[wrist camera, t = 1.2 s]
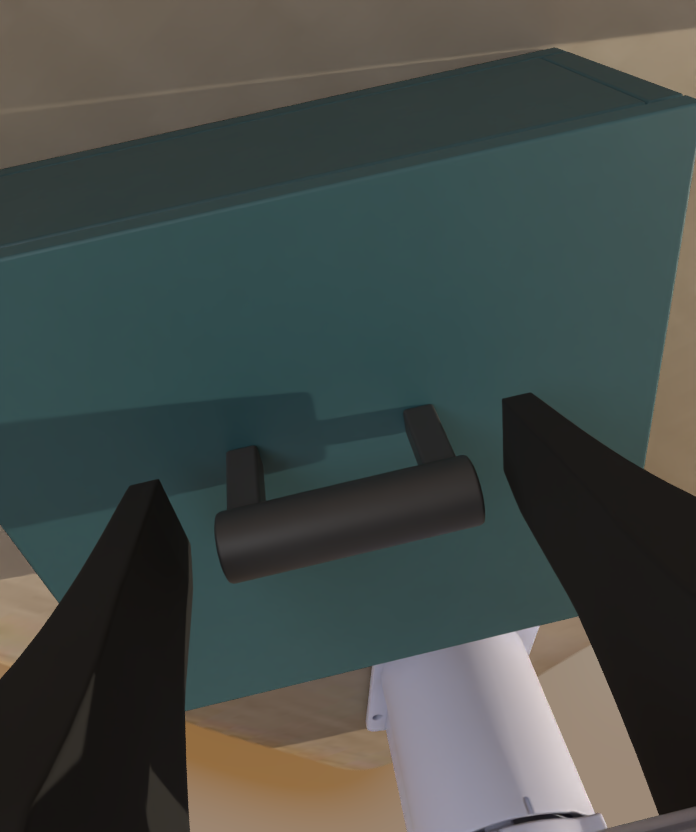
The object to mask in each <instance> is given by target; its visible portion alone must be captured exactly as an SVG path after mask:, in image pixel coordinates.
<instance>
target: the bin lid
mask: <svg viewBox="0 0 696 832" xmlns="http://www.w3.org/2000/svg"><path fill="white" fill-rule="evenodd" d="M695 157H696V99H695V98H692V97H689V96H686V95H685V96H680V97H676V98H671V99H667V100H662V101H658V102H653V103H649V104H644V105H640V106H635V107H631V108H627V109H622V110H618V111H613V112H609V113H604V114H600V115H595V116H591V117H586V118H582V119H577V120H573V121H568V122H564V123H559V124H555V125H550V126H546V127H541V128H537V129H532V130H528V131H523V132H519V133H514V134H510V135H506V136H501V137H497V138H492V139H488V140H483V141H479V142H474V143H470V144H465V145H461V146H456V147H452V148H447V149H443V150H438V151H434V152H429V153H425V154H420V155H416V156H411V157H407V158H402V159H398V160H393V161H389V162H384V163H380V164H376V165H371V166H367V167H362V168H358V169H353V170H349V171H344V172H340V173H335V174H331V175H326V176H322V177H317V178H313V179H308V180H304V181H299V182H295V183H290V184H286V185H281V186H277V187H272V188H268V189H263V190H259V191H255V192H250V193H246V194H241V195H237V196H232V197H228V198H223V199H219V200H214V201H210V202H205V203H201V204H196V205H192V206H187V207H183V208H178V209H174V210H169V211H165V212H160V213H156V214H151V215H147V216H142V217H138V218H134V219H129V220H125V221H120V222H116V223H111V224H107V225H102V226H98V227H93V228H89V229H84V230H80V231H75V232H71V233H66V234H62V235H57V236H53V237H48V238H44V239H39V240H35V241H30V242H26V243H21V244H17V245H12V246H8V247H4V248H0V525H1V526H2V528H3V529H4V530H5V532H6V533H7V534H8V536H9V537H10V538H11V540H12V541H13V542H14V544H15V545H16V546H17V548H18V549H19V550H20V552H21V553H22V554H23V556H24V557H25V558H26V560H27V561H28V562H29V564H30V565H31V567H32V568H33V569H34V571H35V572H36V573H37V575H38V576H39V577H40V579H41V580H42V581H43V583H44V584H45V585H46V587H47V588H48V589H49V591H50V592H51V593H52V595H53V596H54V597H55V599H56V600H57V601H58V603H60V601H61V600H62V598H63V597H64V595H65V594H66V592H67V591H68V589H69V588H70V586H71V585H72V583H73V582H74V580H75V578H76V577H77V575H78V574H79V572H80V570H81V569H82V567H83V565H84V564H85V562H86V560H87V559H88V557H89V555H90V554H91V552H92V550H93V549H94V547H95V545H96V544H97V542H98V540H99V538H100V537H101V535H102V533H103V531H104V530H105V528H106V526H107V524H108V522H109V521H110V519H111V517H112V515H113V513H114V512H115V510H116V508H117V506H118V504H119V503H120V501H121V499H122V497H123V496H124V494H125V492H126V490H127V489H128V487H129V486H130V485H134V484H138V483H143V482H147V481H151V480H156V479H159V480H160V482H161V484H162V486H163V488H164V490H165V492H166V494H167V497H168V499H169V501H170V503H171V505H172V507H173V509H174V511H175V513H176V515H177V517H178V519H179V521H180V523H181V525H182V527H183V529H184V531H185V533H186V536H187V538H188V540H189V542H190V544H191V557H192V573H193V600H192V614H191V628H190V641H189V653H188V666H187V679H186V694H185V711H188V710H192V709H196V708H200V707H205V706H209V705H213V704H217V703H221V702H225V701H229V700H234V699H238V698H242V697H246V696H250V695H254V694H258V693H263V692H267V691H271V690H275V689H279V688H283V687H287V686H291V685H296V684H300V683H304V682H308V681H312V680H316V679H320V678H325V677H329V676H333V675H337V674H341V673H345V672H349V671H354V670H358V669H362V668H366V667H370V666H374V665H378V664H383V663H387V662H391V661H395V660H399V659H403V658H407V657H412V656H416V655H420V654H424V653H428V652H432V651H436V650H440V649H445V648H449V647H453V646H457V645H461V644H465V643H469V642H474V641H478V640H482V639H486V638H490V637H494V636H498V635H503V634H507V633H511V632H515V631H519V630H523V629H527V628H532V627H536V626H540V625H544V624H548V623H552V622H556V621H561V620H565V619H569V618H573V617H577V616H578V614H577V612H576V610H575V608H574V606H573V604H572V602H571V600H570V599H569V597H568V595H567V593H566V591H565V590H564V588H563V586H562V584H561V583H560V581H559V579H558V577H557V576H556V574H555V572H554V570H553V569H552V567H551V565H550V563H549V562H548V560H547V558H546V556H545V555H544V553H543V551H542V549H541V548H540V546H539V544H538V542H537V541H536V539H535V537H534V535H533V534H532V532H531V530H530V528H529V526H528V525H527V523H526V521H525V519H524V518H523V516H522V514H521V512H520V510H519V508H518V505H517V503H516V500H515V498H514V496H513V493H512V491H511V488H510V486H509V483H508V481H507V478H506V476H505V473H504V471H503V428H502V399H503V398H507V397H512V396H516V395H520V394H525V393H529V392H531V393H533V394H534V395H536V396H537V397H538V398H540V399H541V400H542V401H544V402H545V403H547V404H548V405H549V406H551V407H552V408H553V409H555V410H556V411H557V412H559V413H560V414H561V415H563V416H564V417H566V418H567V419H568V420H570V421H571V422H572V423H574V424H575V425H577V426H578V427H579V428H581V429H582V430H584V431H585V432H586V433H588V434H589V435H591V436H592V437H594V438H595V439H597V440H598V441H600V442H601V443H603V444H604V445H606V446H607V447H609V448H610V449H612V450H613V451H615V452H616V453H618V454H619V455H621V456H623V457H624V458H626V459H627V460H629V461H631V462H632V463H634V464H636V465H637V466H639V467H641V468H642V469H644V465H645V459H646V453H647V447H648V441H649V435H650V429H651V423H652V417H653V411H654V405H655V399H656V393H657V387H658V380H659V374H660V368H661V362H662V356H663V350H664V344H665V338H666V332H667V326H668V320H669V314H670V308H671V302H672V296H673V290H674V284H675V278H676V272H677V266H678V260H679V254H680V248H681V242H682V235H683V229H684V223H685V217H686V211H687V205H688V199H689V193H690V187H691V181H692V175H693V169H694V163H695Z"/></svg>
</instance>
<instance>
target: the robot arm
mask: <svg viewBox="0 0 696 832" xmlns="http://www.w3.org/2000/svg"><path fill="white" fill-rule="evenodd" d="M502 428H503V471H504V473H505V476H506V478H507V481H508V483H509V486H510V488H511V491H512V493H513V496H514V498H515V500H516V503H517V505H518V508H519V510H520V512H521V514H522V516H523V518H524V519H525V521H526V523H527V525H528V526H529V528H530V530H531V532H532V534H533V535H534V537H535V539H536V541H537V542H538V544H539V546H540V548H541V549H542V551H543V553H544V555H545V556H546V558H547V560H548V562H549V563H550V565H551V567H552V569H553V570H554V572H555V574H556V576H557V577H558V579H559V581H560V583H561V584H562V586H563V588H564V590H565V591H566V593H567V595H568V597H569V599H570V600H571V602H572V604H573V606H574V608H575V610H576V612H577V614H578V616H579V618H580V620H581V623H582V625H583V627H584V629H585V632H586V634H587V636H588V638H589V641H590V643H591V645H592V648H593V650H594V652H595V654H596V657H597V659H598V661H599V664H600V666H601V668H602V671H603V673H604V675H605V678H606V680H607V683H608V685H609V687H610V690H611V692H612V695H613V697H614V699H615V702H616V704H617V707H618V709H619V712H620V714H621V717H622V719H623V722H624V724H625V727H626V729H627V732H628V734H629V737H630V739H631V742H632V744H633V747H634V749H635V752H636V754H637V757H638V760H639V762H640V765H641V767H642V770H643V773H644V776H645V778H646V781H647V784H648V786H649V789H650V792H651V794H652V797H653V800H654V802H655V805H656V808H657V811H658V813H659V816H655V817H651V818H647V819H643V820H639V821H635V822H631V823H628V824H623V825H619V826H615V827H612V828H607V825H606V823H605V821H604V819H603V816H602V814H600V813H596V814H595V812H594V810H593V807H592V805H591V803H590V800H589V798H588V796H587V793H586V791H585V789H584V786H583V784H582V782H581V779H580V777H579V774H578V773H577V770H576V767H575V765H574V763H573V760H572V758H571V756H570V753H569V751H568V748H567V746H566V744H565V741H564V739H563V737H562V734H561V732H560V730H559V728H558V725H557V723H556V720H555V718H554V716H553V713H552V711H551V708H550V706H549V704H548V702H547V699H546V697H545V694H544V692H543V689H542V687H541V685H540V682H539V680H538V678H537V675H536V673H535V670H534V668H533V666H532V663H531V661H530V659H529V654H530V651H531V648H532V645H533V643H534V640H535V637H536V634H537V632H538V629H539V626H536V627H532V628H527V629H523V630H519V631H515V632H511V633H507V634H503V635H498V636H494V637H490V638H486V639H482V640H478V641H474V642H469V643H465V644H461V645H457V646H453V647H449V648H445V649H440V650H436V651H432V652H428V653H424V654H420V655H416V656H412V657H407V658H403V659H399V660H395V661H391V662H387V663H383V664H378V665H374V666H372V671H371V680H370V689H369V697H368V706H367V715H366V726H367V729H368V730H369V731H381V730H386V732H387V737H388V742H389V747H390V752H391V757H392V761H393V766H394V771H395V776H396V780H397V785H398V790H399V795H400V799H401V805H402V810H403V814H404V819H405V824H406V828H407V832H696V497H695V496H693V495H691V494H689V493H687V492H685V491H683V490H681V489H679V488H677V487H675V486H673V485H671V484H669V483H667V482H666V481H664V480H662V479H660V478H658V477H656V476H654V475H653V474H651V473H649V472H648V471H646V470H644V469H642V468H641V467H639V466H637V465H636V464H634V463H632V462H631V461H629V460H627V459H626V458H624V457H623V456H621V455H619V454H618V453H616V452H615V451H613V450H612V449H610V448H609V447H607V446H606V445H604V444H603V443H601V442H600V441H598V440H597V439H595V438H594V437H592V436H591V435H589V434H588V433H586V432H585V431H584V430H582V429H581V428H579V427H578V426H577V425H575V424H574V423H572V422H571V421H570V420H568V419H567V418H566V417H564V416H563V415H561V414H560V413H559V412H557V411H556V410H555V409H553V408H552V407H551V406H549V405H548V404H547V403H545V402H544V401H542V400H541V399H540V398H538V397H537V396H536V395H534V394H533V393H531V392H529V393H525V394H520V395H516V396H512V397H507V398H503V399H502ZM192 600H193V573H192V557H191V544H190V542H189V540H188V538H187V536H186V533H185V531H184V529H183V527H182V525H181V523H180V521H179V519H178V517H177V515H176V513H175V511H174V509H173V507H172V505H171V503H170V501H169V499H168V497H167V494H166V492H165V490H164V488H163V486H162V484H161V482H160V480H159V479H156V480H151V481H147V482H143V483H138V484H134V485H130V486H129V487H128V489H127V490H126V492H125V494H124V496H123V497H122V499H121V501H120V503H119V504H118V506H117V508H116V510H115V512H114V513H113V515H112V517H111V519H110V521H109V522H108V524H107V526H106V528H105V530H104V531H103V533H102V535H101V537H100V538H99V540H98V542H97V544H96V545H95V547H94V549H93V550H92V552H91V554H90V555H89V557H88V559H87V560H86V562H85V564H84V565H83V567H82V569H81V570H80V572H79V574H78V575H77V577H76V578H75V580H74V582H73V583H72V585H71V586H70V588H69V589H68V591H67V592H66V594H65V595H64V597H63V598H62V600H61V601H60V603H59V604H58V606H57V607H56V609H55V610H54V612H53V613H52V615H51V616H50V617H49V619H48V620H47V622H46V623H45V624H44V626H43V627H42V629H41V630H40V631H39V633H38V634H37V635H36V637H35V638H34V639H33V640H32V642H31V643H30V644H29V645H28V647H27V648H26V649H25V651H24V652H23V653H22V654H21V656H20V657H19V658H18V659H17V660H16V662H15V663H14V664H13V665H12V666H11V668H10V669H9V670H8V671H7V672H6V673H5V674H4V675H3V677H2V678H1V679H0V832H190V828H189V827H190V826H189V811H188V790H187V770H186V769H187V768H186V738H185V694H186V679H187V666H188V653H189V641H190V628H191V614H192Z"/></svg>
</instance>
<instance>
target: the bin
mask: <svg viewBox="0 0 696 832" xmlns="http://www.w3.org/2000/svg"><path fill="white" fill-rule="evenodd" d="M680 96H683V95H682V94H681V93H678V92H676V91H673V90H670V89H668V88H665V87H662V86H659V85H657V84H654V83H651V82H649V81H646V80H643V79H640V78H638V77H635V76H632V75H629V74H627V73H624V72H621V71H619V70H616V69H613V68H610V67H608V66H605V65H602V64H600V63H597V62H594V61H591V60H589V59H586V58H583V57H580V56H578V55H575V54H572V53H570V52H566V51H564V50H561V49H558V48H550V49H546V50H541V51H537V52H532V53H528V54H523V55H519V56H514V57H509V58H505V59H500V60H496V61H491V62H487V63H482V64H478V65H473V66H469V67H464V68H459V69H455V70H450V71H446V72H441V73H437V74H432V75H428V76H423V77H419V78H414V79H410V80H405V81H400V82H396V83H391V84H387V85H382V86H378V87H373V88H369V89H364V90H360V91H355V92H351V93H346V94H341V95H337V96H332V97H328V98H323V99H319V100H314V101H310V102H305V103H301V104H296V105H292V106H287V107H282V108H278V109H273V110H269V111H264V112H260V113H255V114H251V115H246V116H242V117H237V118H232V119H228V120H223V121H219V122H214V123H210V124H205V125H201V126H196V127H192V128H187V129H183V130H178V131H173V132H169V133H164V134H160V135H155V136H151V137H146V138H142V139H137V140H133V141H128V142H124V143H119V144H114V145H110V146H105V147H101V148H96V149H92V150H87V151H83V152H78V153H74V154H69V155H65V156H60V157H55V158H51V159H46V160H42V161H37V162H33V163H28V164H24V165H19V166H15V167H10V168H5V169H1V170H0V248H4V247H8V246H12V245H17V244H21V243H26V242H30V241H35V240H39V239H44V238H48V237H53V236H57V235H62V234H66V233H71V232H75V231H80V230H84V229H89V228H93V227H98V226H102V225H107V224H111V223H116V222H120V221H125V220H129V219H134V218H138V217H142V216H147V215H151V214H156V213H160V212H165V211H169V210H174V209H178V208H183V207H187V206H192V205H196V204H201V203H205V202H210V201H214V200H219V199H223V198H228V197H232V196H237V195H241V194H246V193H250V192H255V191H259V190H263V189H268V188H272V187H277V186H281V185H286V184H290V183H295V182H299V181H304V180H308V179H313V178H317V177H322V176H326V175H331V174H335V173H340V172H344V171H349V170H353V169H358V168H362V167H367V166H371V165H376V164H380V163H384V162H389V161H393V160H398V159H402V158H407V157H411V156H416V155H420V154H425V153H429V152H434V151H438V150H443V149H447V148H452V147H456V146H461V145H465V144H470V143H474V142H479V141H483V140H488V139H492V138H497V137H501V136H506V135H510V134H514V133H519V132H523V131H528V130H532V129H537V128H541V127H546V126H550V125H555V124H559V123H564V122H568V121H573V120H577V119H582V118H586V117H591V116H595V115H600V114H604V113H609V112H613V111H618V110H622V109H627V108H631V107H635V106H640V105H644V104H649V103H653V102H658V101H662V100H667V99H671V98H676V97H680Z"/></svg>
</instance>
